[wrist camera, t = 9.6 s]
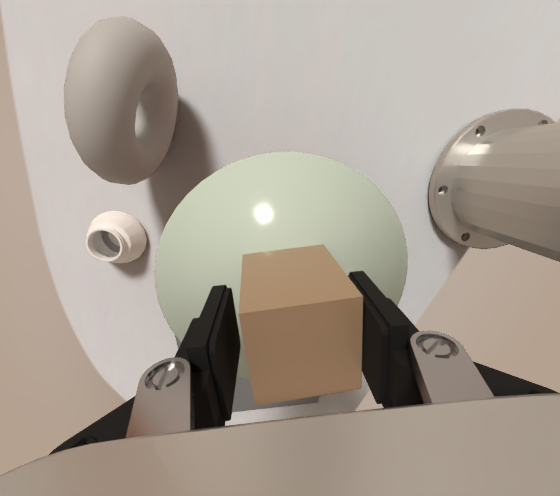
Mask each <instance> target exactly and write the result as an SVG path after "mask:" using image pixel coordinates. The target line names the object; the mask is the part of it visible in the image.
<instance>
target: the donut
mask: <svg viewBox="0 0 560 496" xmlns="http://www.w3.org/2000/svg"><path fill="white" fill-rule="evenodd" d="M64 108H65V118H66V122H67V126H68V130H69V134H70V138H71V140H72V143H73V145H74V146H75V148H76V150H77V152H78V153H79V155H80V157H81V159H82V161H83V162H84V164H86V165H87V166H88V167H89V168H90V169H91V170H92V171H94V172H95V173H96V174H97V175H98V176H100V177H101V178H102V179H104V180H106V181H109V182H113V183H119V184H126V185H131V184H136V183H138V182H140V181H143V180H145V179H147V178H148V177H150V176H151V175H152V174H153V173H154V172H155V171H156V170H157V169H158V167H159V166H160V164H161V163H162V161H163V159H164V157H165V156H166V154H167V151H168V149H169V146H170V144H171V141H172V137H173V133H174V129H175V124H176V117H177V109H178V90H177V79H176V73H175V70H174V66H173V62H172V59H171V57H170V55H169V53H168V51H167V49H166V48H165V46H164V44H163V43H162V41H161V39H160V38H159V37H158V36H157V35H156V34H155V33H154V31H152V30H151V29H149V28H147V27H146V26H144V25H143V24H141V23H139V22H138V21H136V20H134V19H133V18H128V17H123V16H122V17H114V18H106V19H102V20H99V21H98V22H97V23H95V24H94V25H93V26H92V27H91V28H90V29H89V30H88V31H86V32H85V33H84V34H83V35H82V36H81V38H80V39H79V41H78V43H77V45H76V47H75V49H74V51H73V53H72V55H71V57H70V59H69V64H68V69H67V74H66V79H65V84H64Z"/></svg>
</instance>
